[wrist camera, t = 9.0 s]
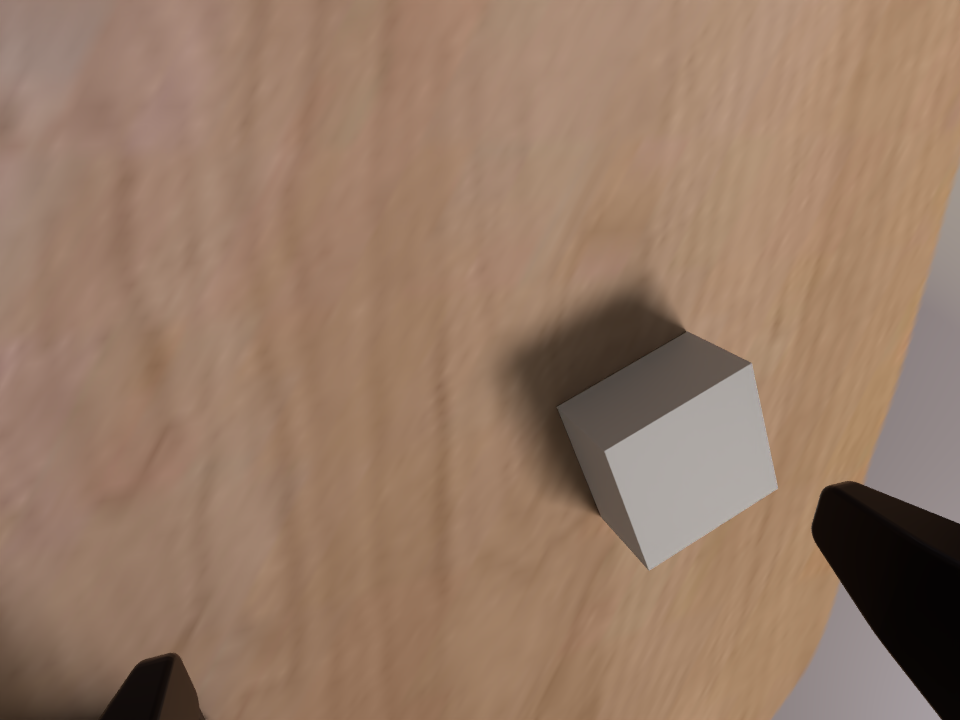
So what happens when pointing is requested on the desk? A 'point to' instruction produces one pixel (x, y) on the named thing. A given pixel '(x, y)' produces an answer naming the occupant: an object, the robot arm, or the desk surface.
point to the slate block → (672, 445)
